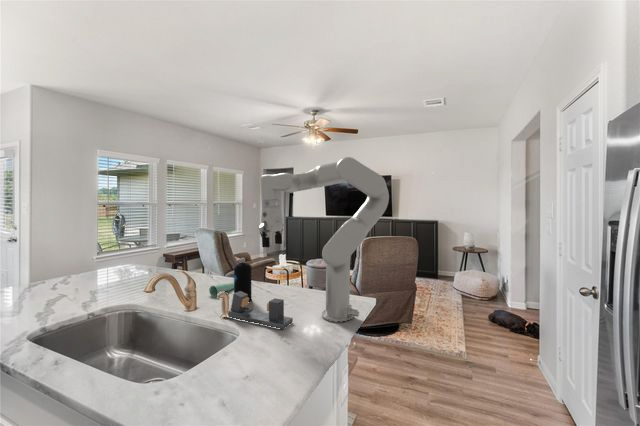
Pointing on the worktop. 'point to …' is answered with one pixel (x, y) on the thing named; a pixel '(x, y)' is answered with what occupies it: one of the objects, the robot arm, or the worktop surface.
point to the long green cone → (220, 288)
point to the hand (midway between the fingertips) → (272, 245)
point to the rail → (265, 315)
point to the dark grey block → (239, 301)
